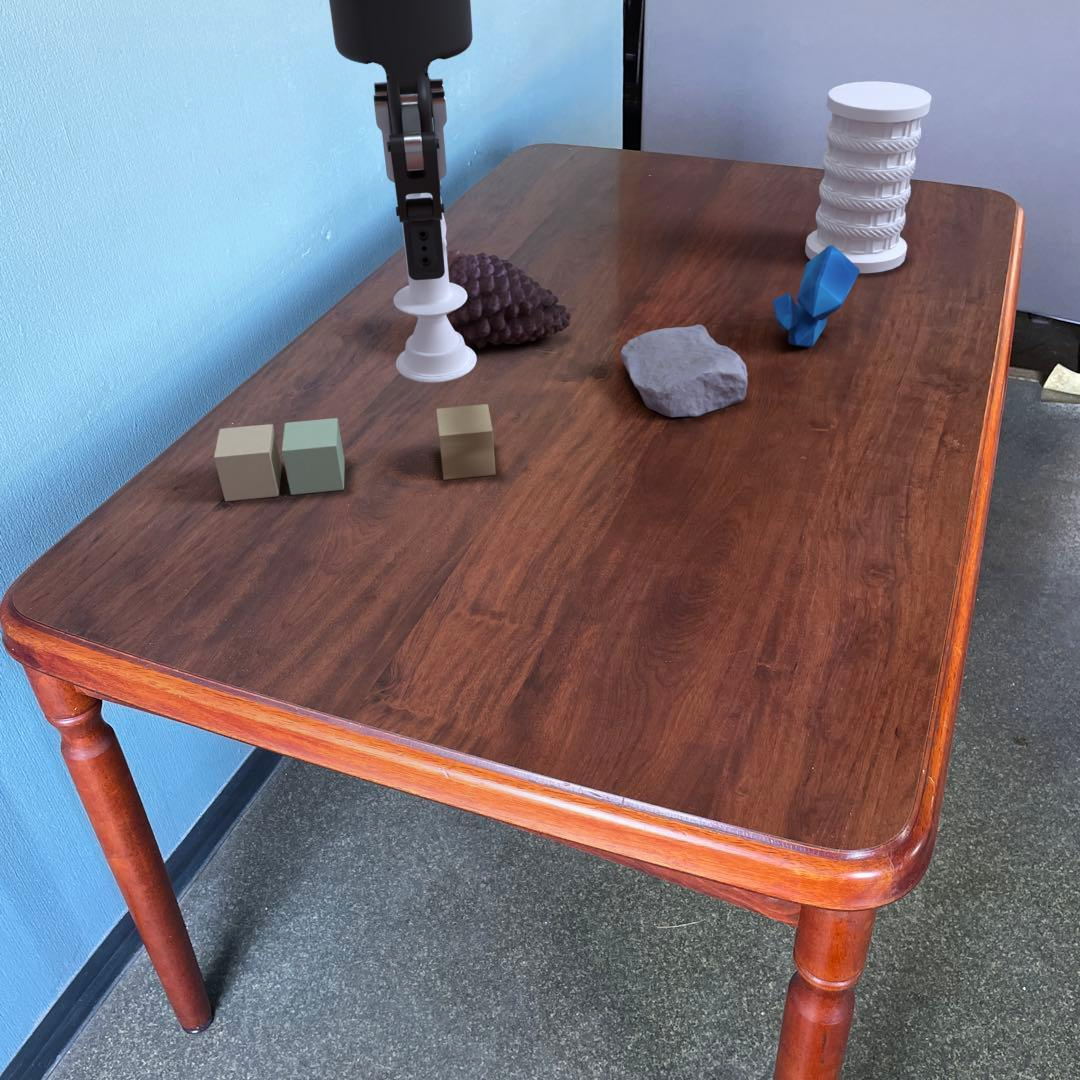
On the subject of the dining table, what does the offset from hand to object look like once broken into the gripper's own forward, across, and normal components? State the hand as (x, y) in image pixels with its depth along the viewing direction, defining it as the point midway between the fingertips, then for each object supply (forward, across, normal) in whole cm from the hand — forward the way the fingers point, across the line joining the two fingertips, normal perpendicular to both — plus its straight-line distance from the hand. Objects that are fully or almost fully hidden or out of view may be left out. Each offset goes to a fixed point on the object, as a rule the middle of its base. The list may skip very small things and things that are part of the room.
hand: (426, 265), depth 67 cm
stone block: (+25, -26, +23) cm, 43 cm away
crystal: (+25, -34, +38) cm, 57 cm away
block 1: (+25, -15, -17) cm, 34 cm away
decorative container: (+25, -53, +50) cm, 77 cm away
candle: (+7, 0, 0) cm, 7 cm away
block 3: (+25, -16, +2) cm, 29 cm away
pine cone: (+25, -39, +5) cm, 46 cm away
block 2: (+25, -15, -11) cm, 31 cm away
